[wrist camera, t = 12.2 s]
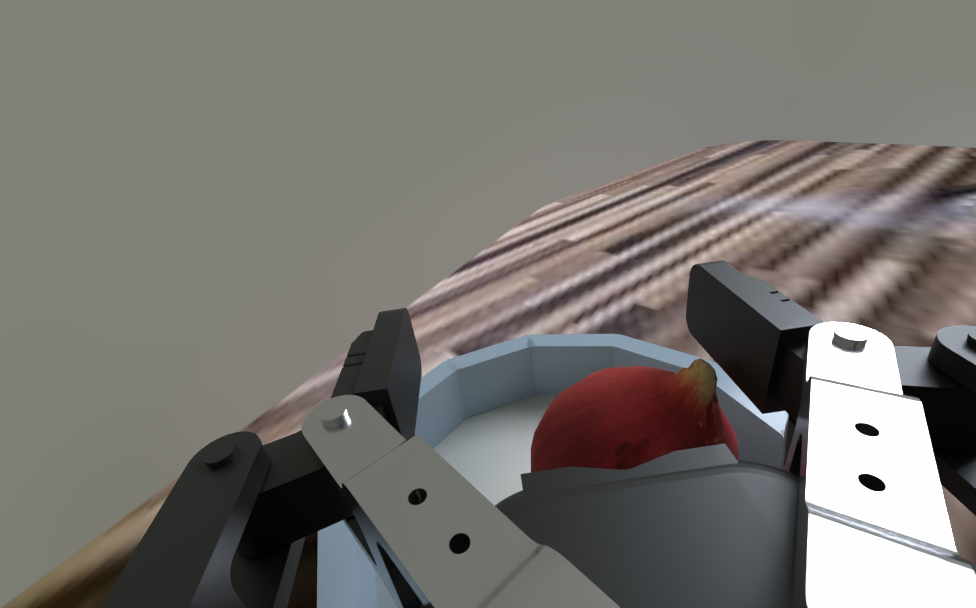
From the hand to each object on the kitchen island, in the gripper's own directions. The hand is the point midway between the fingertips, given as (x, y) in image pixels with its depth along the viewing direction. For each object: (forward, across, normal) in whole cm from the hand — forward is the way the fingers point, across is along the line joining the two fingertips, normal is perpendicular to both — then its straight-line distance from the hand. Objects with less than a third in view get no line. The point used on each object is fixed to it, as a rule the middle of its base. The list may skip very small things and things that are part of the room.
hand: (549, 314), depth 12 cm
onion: (-1, 0, +8) cm, 8 cm away
